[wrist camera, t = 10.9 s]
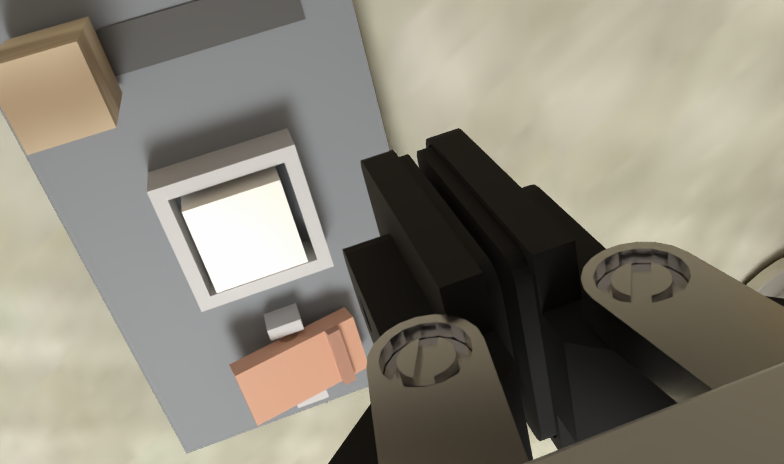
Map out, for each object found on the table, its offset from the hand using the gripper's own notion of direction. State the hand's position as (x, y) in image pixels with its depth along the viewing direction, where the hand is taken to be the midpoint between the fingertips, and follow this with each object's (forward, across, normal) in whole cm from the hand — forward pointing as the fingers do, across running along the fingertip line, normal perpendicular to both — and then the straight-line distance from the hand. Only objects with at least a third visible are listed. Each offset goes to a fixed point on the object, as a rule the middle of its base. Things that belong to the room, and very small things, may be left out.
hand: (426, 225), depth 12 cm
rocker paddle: (+18, +4, +16) cm, 24 cm away
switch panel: (+22, +4, +8) cm, 23 cm away
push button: (+19, +4, +8) cm, 21 cm away
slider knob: (+19, +8, 0) cm, 20 cm away
